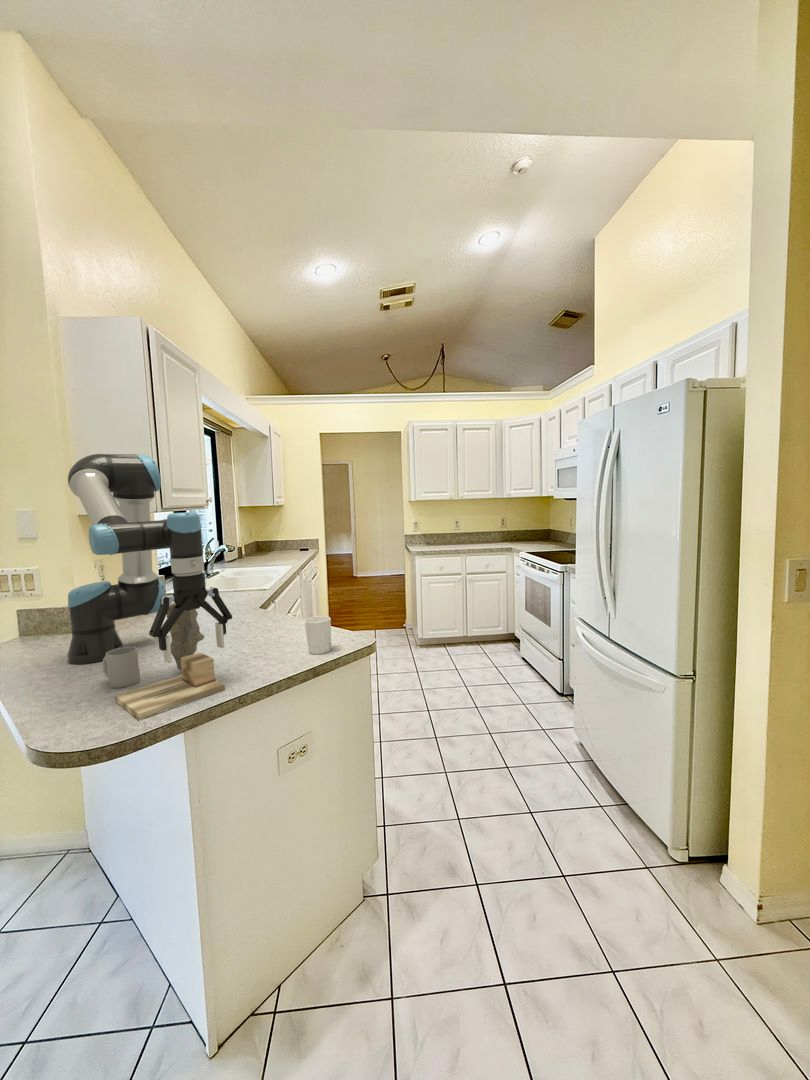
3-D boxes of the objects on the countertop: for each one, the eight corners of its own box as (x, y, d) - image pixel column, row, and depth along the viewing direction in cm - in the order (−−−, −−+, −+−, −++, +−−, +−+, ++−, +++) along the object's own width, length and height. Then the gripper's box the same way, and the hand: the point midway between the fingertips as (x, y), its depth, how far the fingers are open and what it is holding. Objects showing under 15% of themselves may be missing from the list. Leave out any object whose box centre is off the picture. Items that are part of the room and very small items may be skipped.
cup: (125, 689, 122) (121, 656, 121) (94, 687, 124) (90, 654, 124) (146, 678, 129) (143, 647, 128) (116, 676, 131) (113, 646, 131)
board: (115, 701, 114) (114, 695, 114) (197, 675, 129) (196, 670, 129) (139, 720, 104) (138, 713, 103) (225, 689, 118) (224, 683, 118)
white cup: (337, 648, 146) (335, 617, 146) (320, 656, 140) (318, 623, 139) (319, 645, 151) (317, 615, 150) (301, 652, 144) (299, 621, 143)
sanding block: (181, 680, 122) (180, 657, 122) (201, 674, 126) (199, 652, 125) (195, 687, 117) (193, 664, 116) (215, 681, 120) (213, 658, 120)
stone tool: (174, 677, 128) (167, 606, 127) (162, 674, 131) (155, 604, 129) (212, 662, 139) (206, 596, 137) (200, 660, 142) (194, 595, 140)
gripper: (140, 583, 107) (149, 672, 109) (241, 567, 125) (247, 644, 128) (129, 580, 112) (137, 665, 114) (227, 565, 130) (233, 638, 133)
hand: (195, 654), depth 121 cm, fingers open, 13 cm apart
